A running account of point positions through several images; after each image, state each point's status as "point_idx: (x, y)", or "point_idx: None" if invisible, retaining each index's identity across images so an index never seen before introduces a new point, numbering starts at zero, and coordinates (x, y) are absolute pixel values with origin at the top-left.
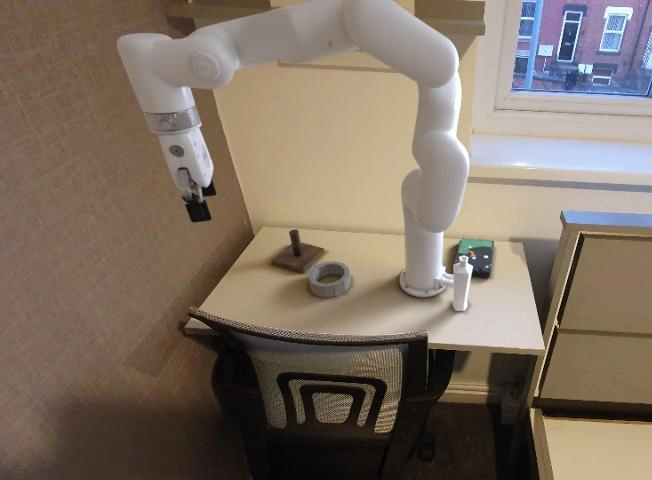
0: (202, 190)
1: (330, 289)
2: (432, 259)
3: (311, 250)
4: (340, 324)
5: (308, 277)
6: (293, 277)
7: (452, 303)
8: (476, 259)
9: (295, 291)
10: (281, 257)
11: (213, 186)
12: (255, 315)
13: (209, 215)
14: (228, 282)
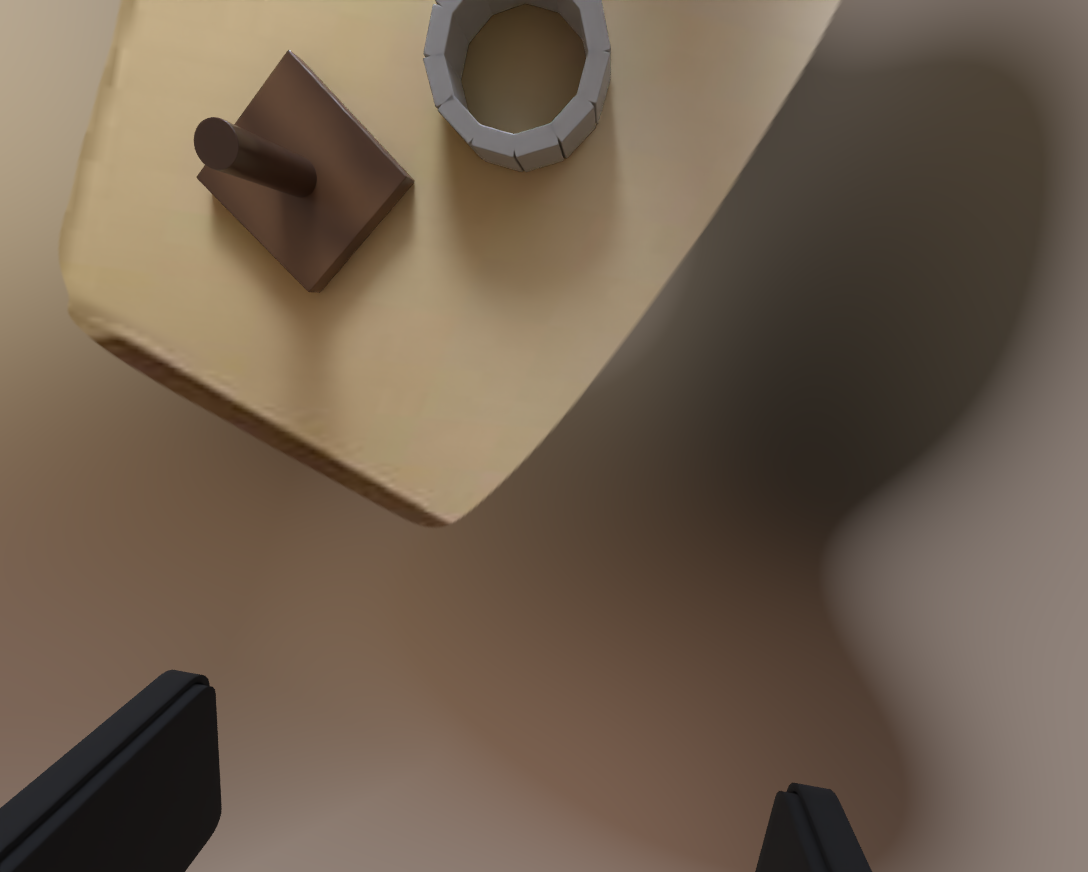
0: (155, 854)
1: (606, 76)
2: None
3: (287, 114)
4: (778, 92)
5: (507, 155)
6: (427, 226)
7: None
8: None
9: (513, 232)
10: (302, 251)
11: (99, 766)
12: (584, 385)
13: (860, 850)
14: (376, 449)
